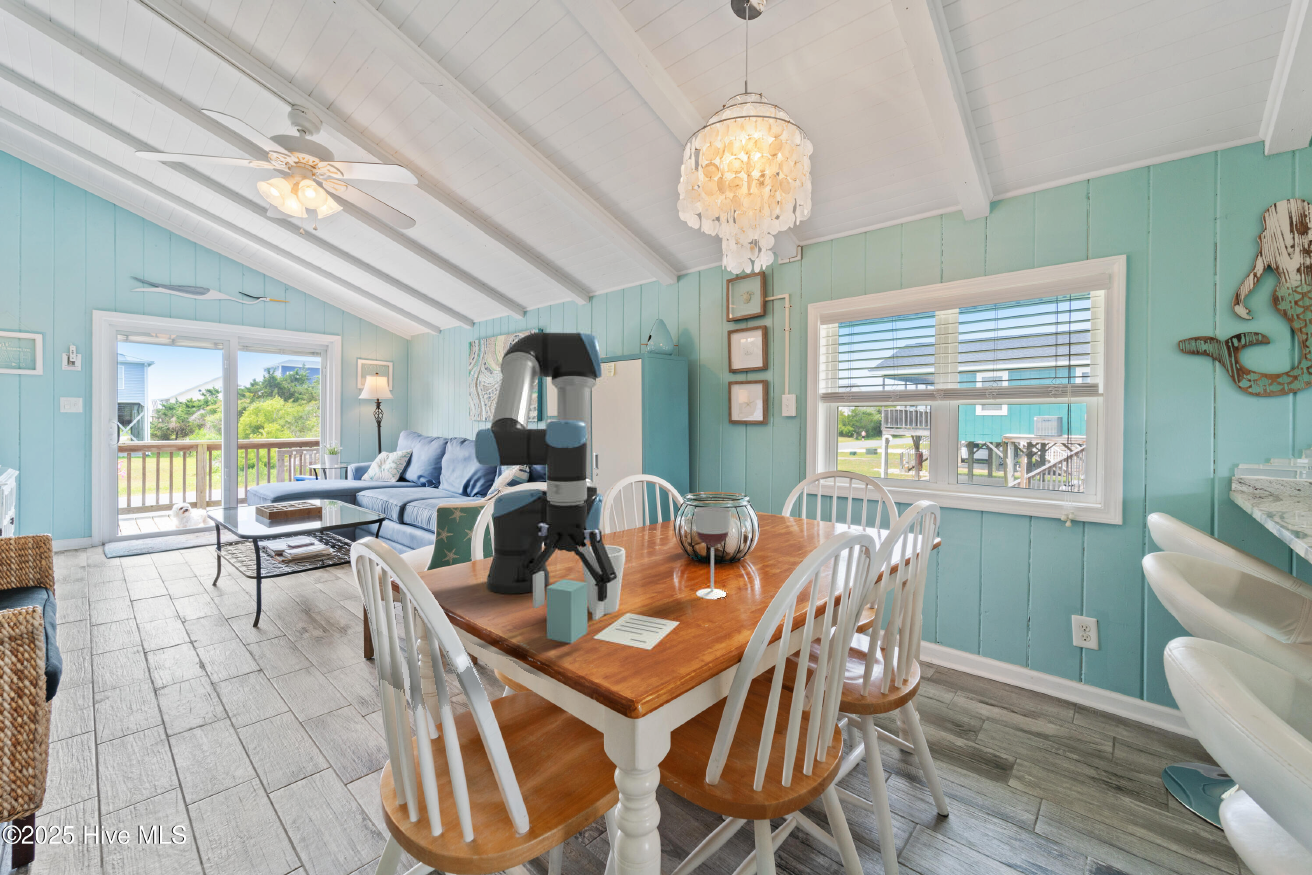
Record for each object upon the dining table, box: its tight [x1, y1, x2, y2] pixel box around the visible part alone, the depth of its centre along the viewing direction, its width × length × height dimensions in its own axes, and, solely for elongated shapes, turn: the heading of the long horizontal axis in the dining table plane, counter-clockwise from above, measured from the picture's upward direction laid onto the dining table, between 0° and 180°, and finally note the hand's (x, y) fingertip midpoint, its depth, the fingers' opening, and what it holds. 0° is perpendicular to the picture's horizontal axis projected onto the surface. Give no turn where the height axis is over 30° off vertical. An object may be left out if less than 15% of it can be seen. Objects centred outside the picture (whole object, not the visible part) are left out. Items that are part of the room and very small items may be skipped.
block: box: [546, 579, 588, 644], centre depth 104 cm, size 6×6×10 cm
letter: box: [592, 612, 680, 651], centre depth 107 cm, size 12×14×1 cm
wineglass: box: [693, 506, 732, 600], centre depth 128 cm, size 8×9×20 cm
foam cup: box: [580, 544, 626, 615], centre depth 118 cm, size 10×9×13 cm
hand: (567, 611), depth 104 cm, fingers open, 13 cm apart
